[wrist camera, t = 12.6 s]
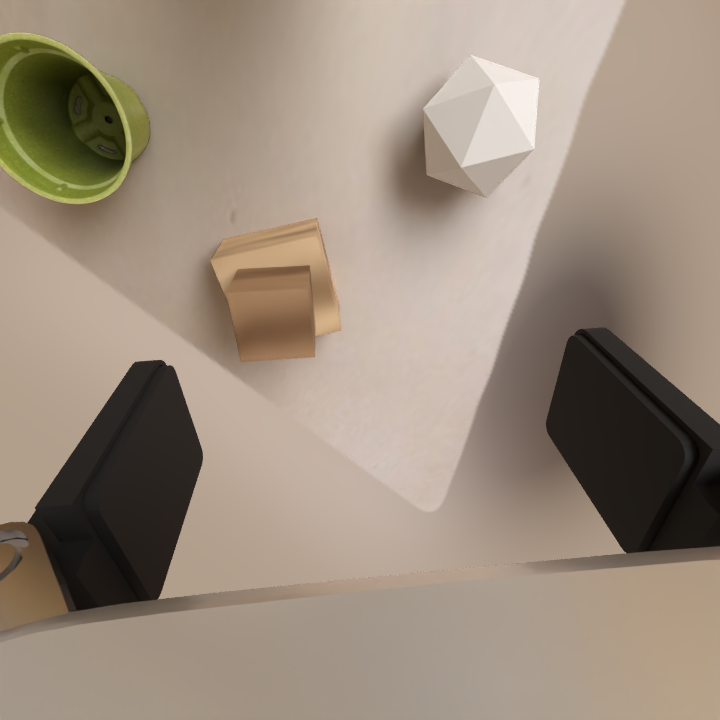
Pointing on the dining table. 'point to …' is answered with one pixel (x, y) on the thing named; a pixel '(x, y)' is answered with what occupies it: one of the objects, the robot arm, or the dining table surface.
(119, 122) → the plant pot
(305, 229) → the oak base
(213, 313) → the dining table surface
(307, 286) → the walnut block
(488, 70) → the die
